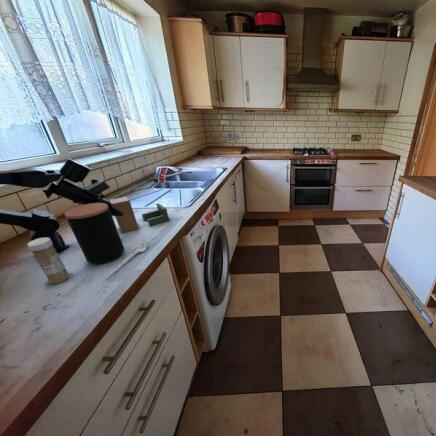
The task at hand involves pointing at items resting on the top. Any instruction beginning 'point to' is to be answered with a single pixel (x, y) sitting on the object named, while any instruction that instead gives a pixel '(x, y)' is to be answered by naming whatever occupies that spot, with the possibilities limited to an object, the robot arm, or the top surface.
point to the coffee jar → (95, 232)
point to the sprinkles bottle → (48, 259)
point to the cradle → (156, 215)
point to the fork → (139, 249)
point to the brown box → (125, 214)
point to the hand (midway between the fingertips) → (120, 211)
